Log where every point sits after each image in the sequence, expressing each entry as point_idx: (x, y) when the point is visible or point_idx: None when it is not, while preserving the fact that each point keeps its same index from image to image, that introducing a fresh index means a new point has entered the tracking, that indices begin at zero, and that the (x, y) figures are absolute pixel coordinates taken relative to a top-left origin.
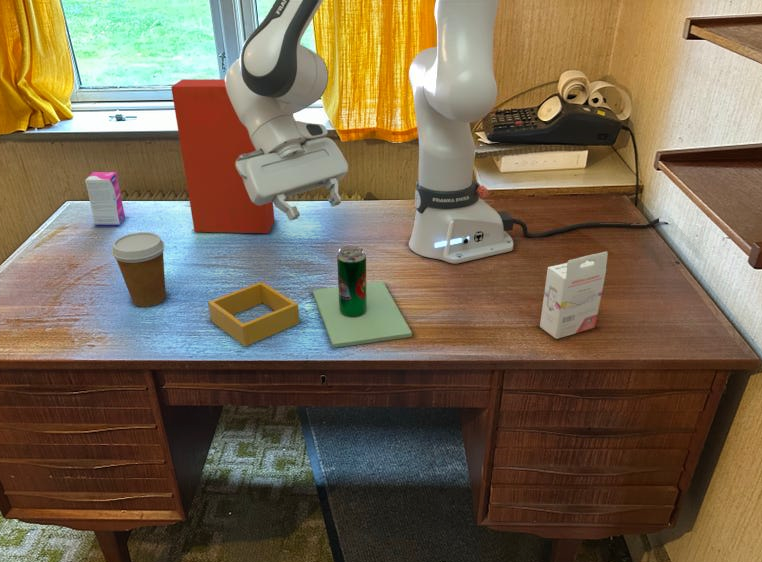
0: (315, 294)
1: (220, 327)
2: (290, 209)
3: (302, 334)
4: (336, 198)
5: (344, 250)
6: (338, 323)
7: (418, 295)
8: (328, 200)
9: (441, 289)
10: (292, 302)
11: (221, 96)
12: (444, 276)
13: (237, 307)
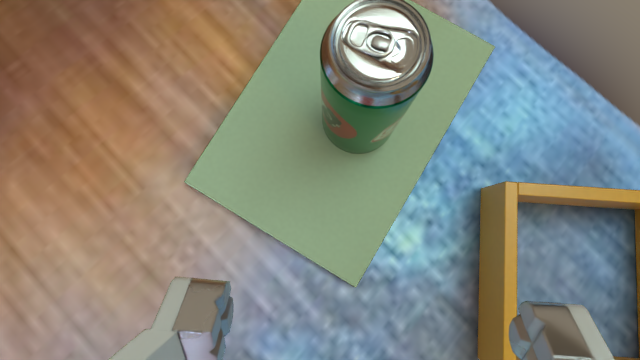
0: (367, 260)
1: None
2: (605, 347)
3: (506, 144)
4: (200, 295)
5: (393, 69)
6: (424, 102)
7: (171, 76)
8: (222, 357)
9: (107, 56)
10: (511, 200)
11: None
12: (43, 96)
13: None
